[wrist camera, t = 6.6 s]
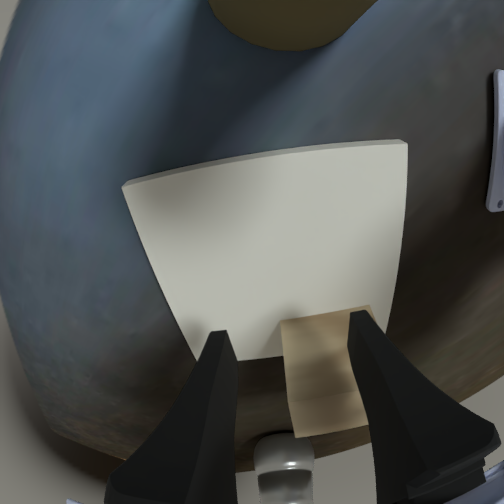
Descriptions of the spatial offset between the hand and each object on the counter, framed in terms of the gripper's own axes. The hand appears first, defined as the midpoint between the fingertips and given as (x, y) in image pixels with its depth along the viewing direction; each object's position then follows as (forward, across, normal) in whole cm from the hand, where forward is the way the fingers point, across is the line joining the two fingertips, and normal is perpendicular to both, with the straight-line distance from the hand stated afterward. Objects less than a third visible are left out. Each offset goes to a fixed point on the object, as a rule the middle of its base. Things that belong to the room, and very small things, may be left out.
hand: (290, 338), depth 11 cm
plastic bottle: (+5, +2, +23) cm, 24 cm away
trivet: (+4, 0, 0) cm, 4 cm away
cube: (+4, -2, +5) cm, 7 cm away
